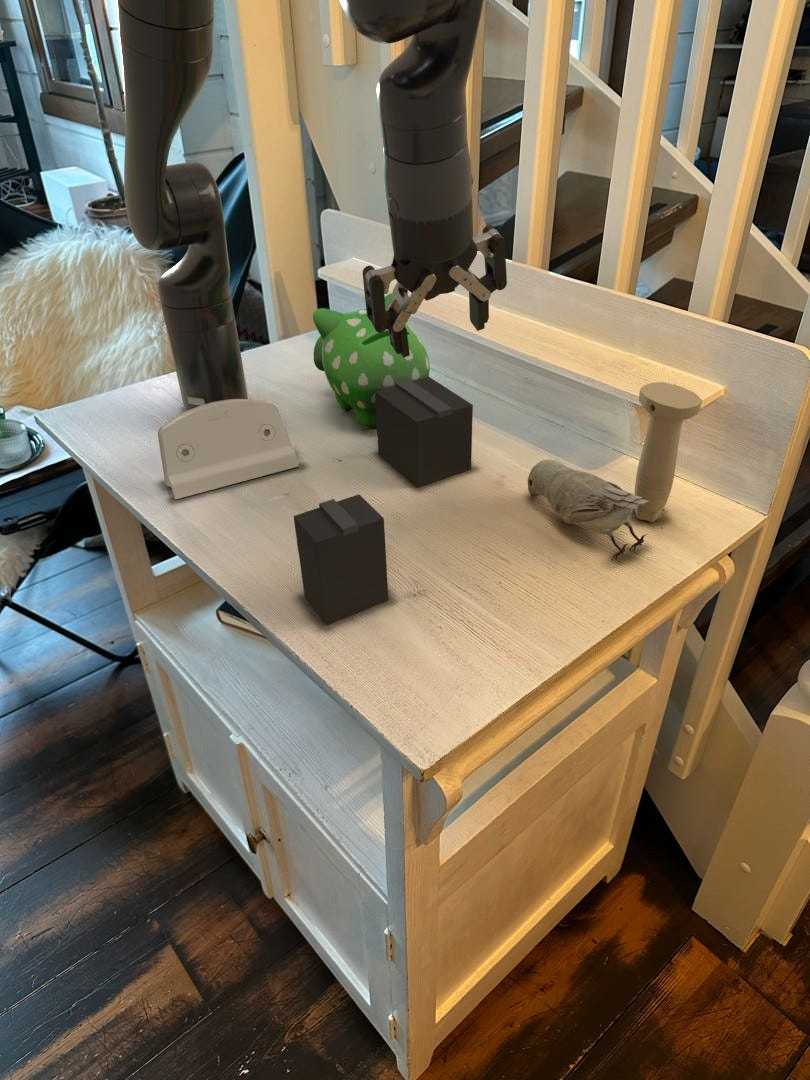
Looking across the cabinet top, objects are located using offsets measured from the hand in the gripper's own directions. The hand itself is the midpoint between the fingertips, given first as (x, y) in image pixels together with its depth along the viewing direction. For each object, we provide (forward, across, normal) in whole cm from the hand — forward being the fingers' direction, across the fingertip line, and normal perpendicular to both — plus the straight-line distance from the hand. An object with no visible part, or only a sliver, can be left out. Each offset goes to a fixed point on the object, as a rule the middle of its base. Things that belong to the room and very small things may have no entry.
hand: (440, 339), depth 80 cm
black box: (+12, +19, +18) cm, 29 cm away
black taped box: (+21, +2, -3) cm, 22 cm away
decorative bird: (+18, -8, +17) cm, 26 cm away
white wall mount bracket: (+19, +26, -11) cm, 34 cm away
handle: (+19, -17, +19) cm, 31 cm away
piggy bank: (+26, +4, -19) cm, 33 cm away
